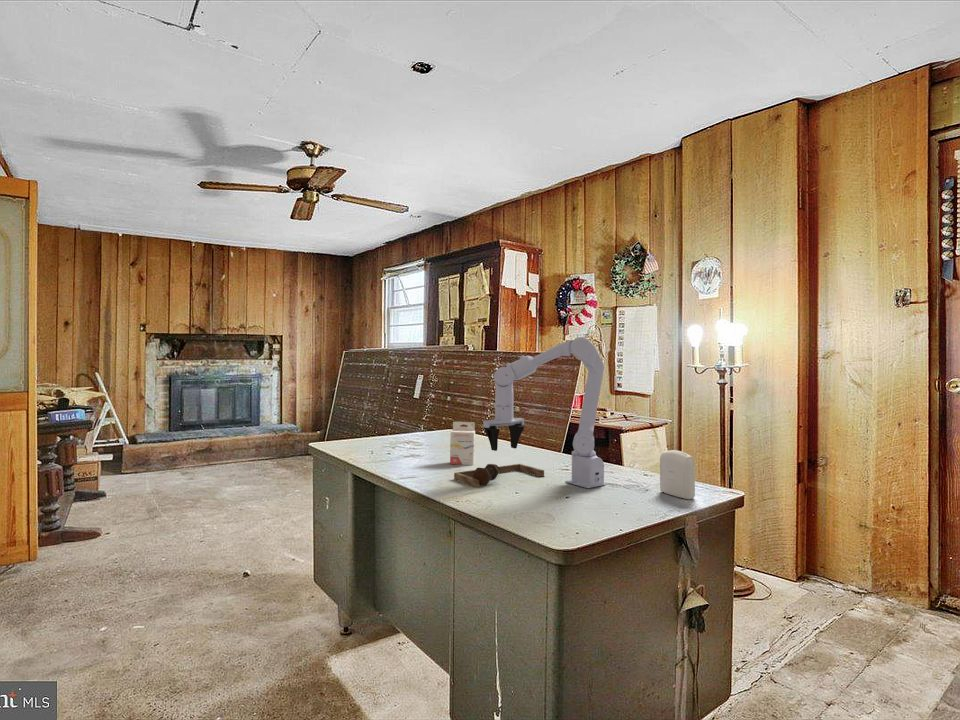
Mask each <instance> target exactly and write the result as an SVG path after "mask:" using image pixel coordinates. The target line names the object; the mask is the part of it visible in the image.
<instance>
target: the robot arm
mask: <svg viewBox="0 0 960 720" xmlns="http://www.w3.org/2000/svg"><path fill="white" fill-rule="evenodd" d="M571 356H573V357H574V358H576V359H577V360H579V361H581V363H582V364H583V365H584V367H585V368H586V369H587V371H588V372H587V375H586V377H587V378H586V383H585V389H584V394H583V395H584V396H583V401H582V407H581V411H580V419H579V424H578V430H577V432H575V434H574V436H573V440H572V447H573V450H572V451H571V479H565V483H568V484H571V485H574V486H577V487H582V488H585V489H590V488H596V487H602V486H606V485H607V484H606V482H605V462H604V461H603V459H602V458H601V457H600V456H599V457H598V456H597V452H596V451H595V450H594V449H595V436H594V429H595V423H596V417H597V411H598V406H599V405H598V404H599V401H600V400H599V399H600V393H601V386H602V381H603V375H604V370H605V364H604V362H603V361H602V358H601V357H600V354H599V352H598V350H597V348H596V346H595V345H594V344H593V343H592V341H591V340H589V339H588V338H586V337H583V336H579V337H576V338H574V340H572V339H571V340H567V341H565V342H560V343H559V344H557V345H555V346H553V347H551V348H549V349H547V350H545V351H543V352H541V353H539V354H537V355H535V356H530V355H525V356H524V355H521V356H519V358H518V359H517V360H515V361H513V362H511V363H510V362H507V363H506V364H505V366H506V367H505V366H500V367H499V368H497V369H496V371H495V372H494V374H493V380H494V382H495V393H494V394H495V395H494V399H495V400H494V401H495V402H494V409H495V410H494V411H495V412H494V419H487V420H483V421H482V422H483V424H482V425H483V429H484V432H485V434H486V436H487V438H488V442H489V444H490V449H491V451H494V452H497V451H498V441H499V435H500V428H499V427H506V426H508V429H509V435H510V448H511V449H516V450H517V448H518V444H519V441H520V440H519V439H520V437H521V436H522V433H523V431H524V429H525V426H524V425H525V418H522V417H518V418H517V417H515V418H514V411H515V410H514V406H515V405H514V382H515V381H519V380H522V379H524V378H527V377H528V376H530V375H532V374H534V373H536V372H537V370H538V369H537V368H538V367H539V366H541V365H543V364H546V363H548V362H550V361H552V360H553V361H554V359H557V358H559V357H571ZM497 427H498V428H497Z"/></svg>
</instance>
